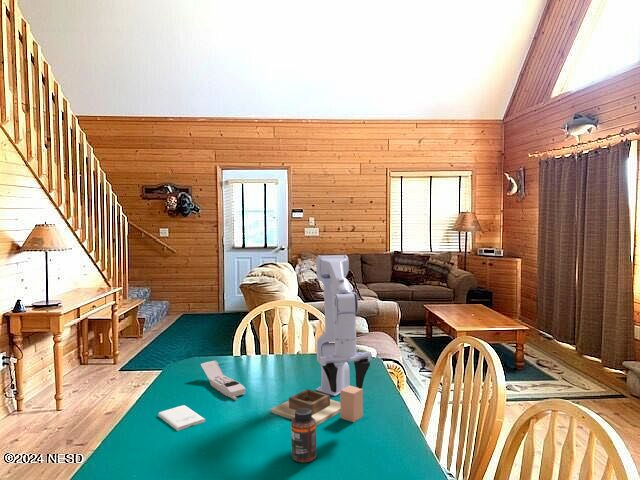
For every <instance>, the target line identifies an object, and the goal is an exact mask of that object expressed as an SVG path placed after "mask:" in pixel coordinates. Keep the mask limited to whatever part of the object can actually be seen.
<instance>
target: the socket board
mask: <svg viewBox="0 0 640 480" xmlns="http://www.w3.org/2000/svg"><path fill="white" fill-rule="evenodd" d="M299 408H309V409H311V411H312V417H313V418H314V419H315V421H316V427H317V426H319V425H320V424H322V423H324V422H326V421H328V420H329V419H331V418H332V417H334V416H336V415H338V414H341V401H337V400H334V399H331V395H330V394H326V393H323V392H320V391H316V390H313V389H309V388H307V389H305V390H302V391H300V392H298V393H296V394H294V395H292V396H290V397H288V400H287V401H284V402H282V403H280V404H279V405H276V406H274V407H272V408H270V413H272V414H275V415H278V416H281V417H283V418H287V419H289V420H291V421H292V420H293V419H294V418H295V410H297V409H299Z"/></svg>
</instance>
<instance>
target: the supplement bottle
mask: <svg viewBox="0 0 640 480" xmlns="http://www.w3.org/2000/svg"><path fill="white" fill-rule="evenodd" d="M290 433H291V437H290V438H291V439H290V440H291V457H292V459H293V460H294V461H296V462H298V463H309V462H312V461H314V460H315V459H316V457H317V451H318V450H317V426H316V421H315V419H314V418H313V417H312V411H311V409H309V408H299V409H297V410H295V418H294V419H293V420H291V422H290Z"/></svg>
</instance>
